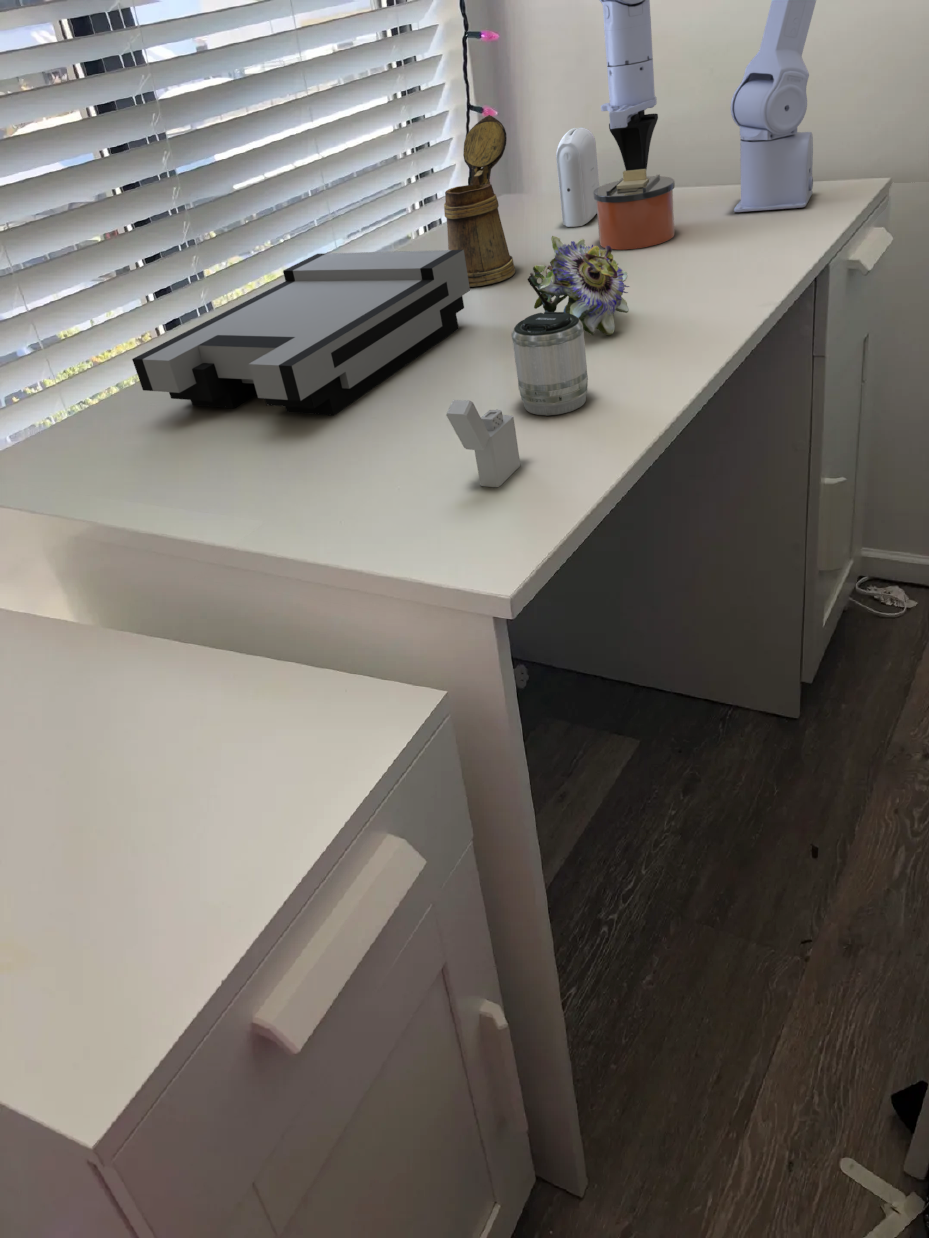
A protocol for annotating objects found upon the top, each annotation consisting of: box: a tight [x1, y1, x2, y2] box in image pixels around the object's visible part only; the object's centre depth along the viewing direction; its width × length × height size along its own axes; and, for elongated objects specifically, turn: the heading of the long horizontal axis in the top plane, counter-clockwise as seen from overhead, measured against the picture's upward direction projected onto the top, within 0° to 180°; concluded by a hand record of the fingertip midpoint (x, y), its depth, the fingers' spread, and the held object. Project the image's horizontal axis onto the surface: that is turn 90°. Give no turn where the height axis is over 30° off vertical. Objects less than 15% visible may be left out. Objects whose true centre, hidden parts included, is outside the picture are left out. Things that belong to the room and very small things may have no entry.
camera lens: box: [511, 311, 589, 417], centre depth 89 cm, size 6×6×8 cm
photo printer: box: [555, 126, 600, 228], centre depth 148 cm, size 10×4×12 cm, turn 160°
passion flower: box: [526, 235, 630, 336], centre depth 106 cm, size 11×11×12 cm
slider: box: [617, 169, 649, 190], centre depth 131 cm, size 4×3×2 cm
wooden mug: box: [443, 114, 516, 288], centre depth 129 cm, size 9×14×18 cm, turn 154°
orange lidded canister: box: [593, 174, 676, 251], centre depth 134 cm, size 11×11×7 cm
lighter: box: [445, 399, 521, 488], centre depth 78 cm, size 7×2×8 cm, turn 151°
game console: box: [131, 249, 471, 417], centre depth 108 cm, size 21×32×8 cm, turn 150°
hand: (636, 177), depth 133 cm, fingers closed, pressing on slider
